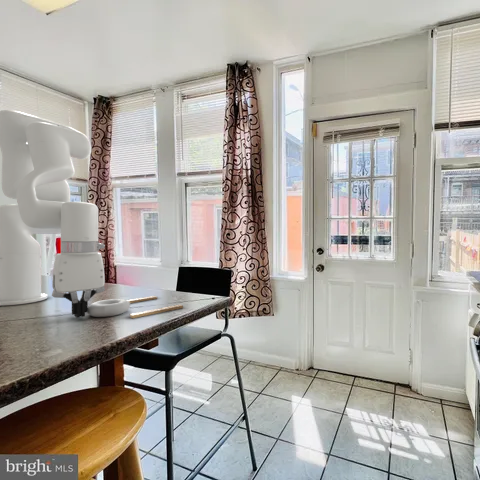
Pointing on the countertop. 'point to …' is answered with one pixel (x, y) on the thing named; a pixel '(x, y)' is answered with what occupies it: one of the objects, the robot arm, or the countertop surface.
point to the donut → (108, 307)
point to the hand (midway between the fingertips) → (79, 316)
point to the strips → (151, 310)
